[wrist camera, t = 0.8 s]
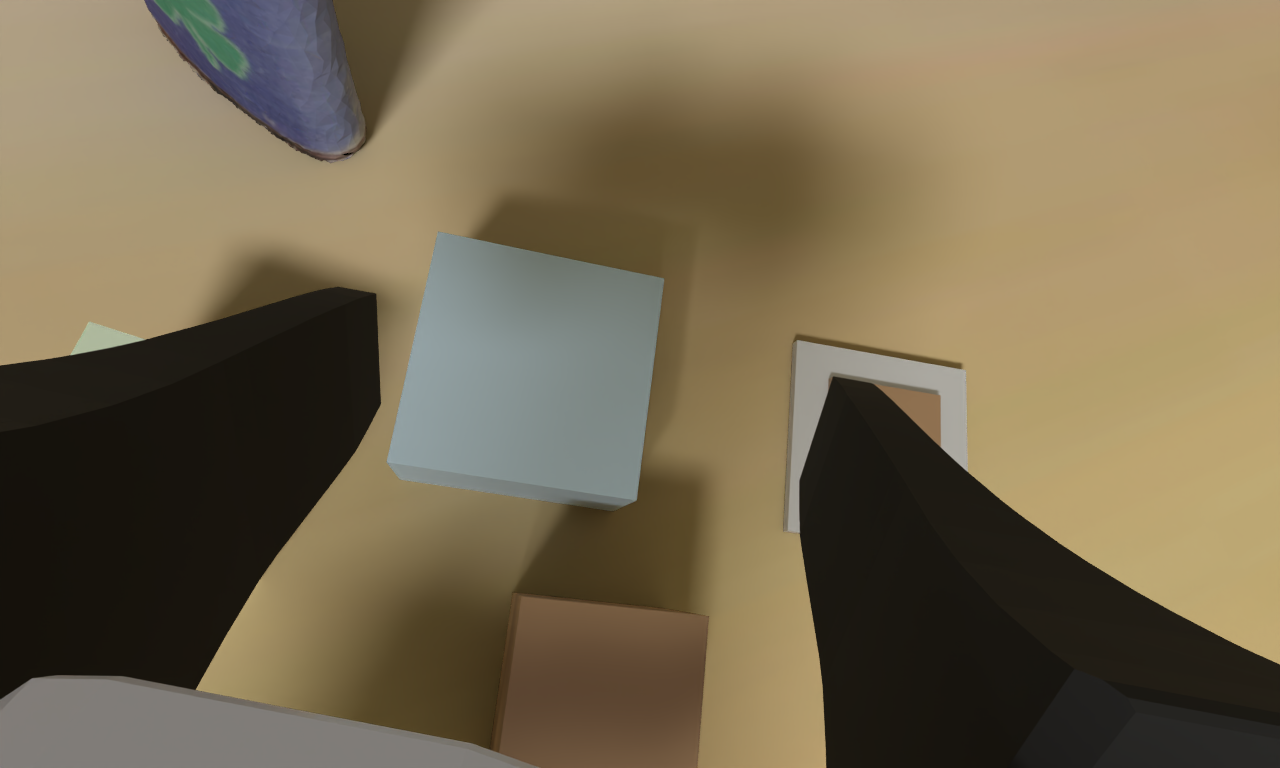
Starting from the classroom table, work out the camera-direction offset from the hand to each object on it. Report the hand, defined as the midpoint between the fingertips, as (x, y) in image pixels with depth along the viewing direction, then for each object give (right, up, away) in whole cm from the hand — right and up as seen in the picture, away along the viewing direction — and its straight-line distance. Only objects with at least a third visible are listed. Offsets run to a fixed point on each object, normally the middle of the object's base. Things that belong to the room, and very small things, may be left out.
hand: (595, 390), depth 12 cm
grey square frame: (+10, -2, +16) cm, 19 cm away
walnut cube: (-1, -9, +12) cm, 15 cm away
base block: (-3, 0, +14) cm, 14 cm away
